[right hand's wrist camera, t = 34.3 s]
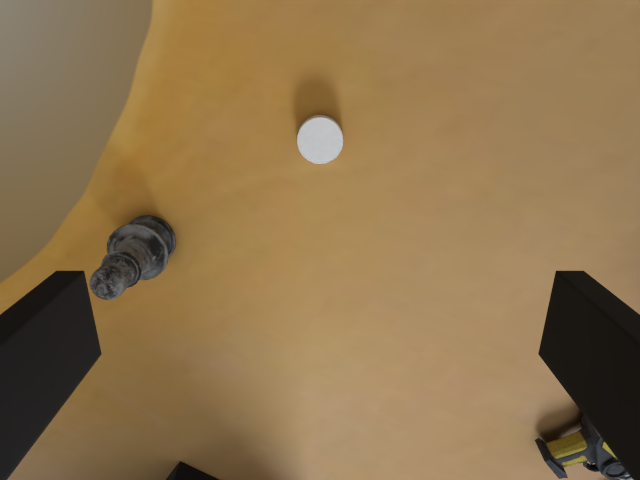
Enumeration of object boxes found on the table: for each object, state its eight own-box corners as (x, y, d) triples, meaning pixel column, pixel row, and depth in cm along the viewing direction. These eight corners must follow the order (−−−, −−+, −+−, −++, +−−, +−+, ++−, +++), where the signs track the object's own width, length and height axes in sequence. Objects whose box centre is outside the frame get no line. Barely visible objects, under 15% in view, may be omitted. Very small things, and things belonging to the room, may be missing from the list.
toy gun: (633, 561, 61) (744, 513, 55) (523, 481, 54) (638, 417, 48) (613, 526, 65) (715, 477, 60) (509, 447, 58) (613, 384, 53)
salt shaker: (112, 246, 47) (48, 303, 36) (137, 202, 45) (77, 246, 34) (162, 275, 48) (115, 338, 37) (188, 232, 47) (147, 285, 36)
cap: (351, 135, 43) (353, 138, 41) (322, 168, 44) (322, 173, 42) (318, 104, 42) (318, 106, 40) (288, 139, 43) (286, 143, 41)
